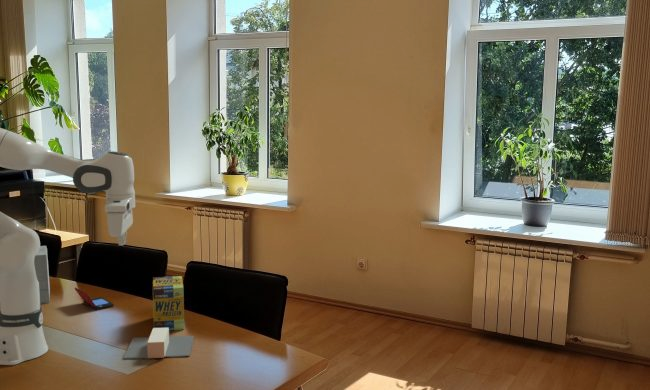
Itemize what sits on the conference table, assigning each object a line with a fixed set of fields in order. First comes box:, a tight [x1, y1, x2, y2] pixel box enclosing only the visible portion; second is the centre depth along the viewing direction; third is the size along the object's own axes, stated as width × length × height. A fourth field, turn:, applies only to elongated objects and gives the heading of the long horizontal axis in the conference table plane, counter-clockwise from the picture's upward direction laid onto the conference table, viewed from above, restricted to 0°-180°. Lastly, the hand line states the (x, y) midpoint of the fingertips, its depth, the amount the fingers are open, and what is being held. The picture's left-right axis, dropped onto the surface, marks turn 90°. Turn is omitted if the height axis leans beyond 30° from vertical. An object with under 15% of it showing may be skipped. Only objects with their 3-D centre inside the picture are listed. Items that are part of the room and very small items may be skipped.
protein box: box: [152, 275, 185, 332], centre depth 213 cm, size 10×15×16 cm
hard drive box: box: [34, 245, 51, 305], centre depth 238 cm, size 16×8×20 cm, turn 25°
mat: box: [123, 335, 195, 360], centre depth 193 cm, size 20×16×1 cm
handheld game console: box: [74, 287, 115, 312], centre depth 232 cm, size 12×11×7 cm
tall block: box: [147, 327, 170, 359], centre depth 190 cm, size 5×5×12 cm
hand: (122, 244), depth 192 cm, fingers closed
